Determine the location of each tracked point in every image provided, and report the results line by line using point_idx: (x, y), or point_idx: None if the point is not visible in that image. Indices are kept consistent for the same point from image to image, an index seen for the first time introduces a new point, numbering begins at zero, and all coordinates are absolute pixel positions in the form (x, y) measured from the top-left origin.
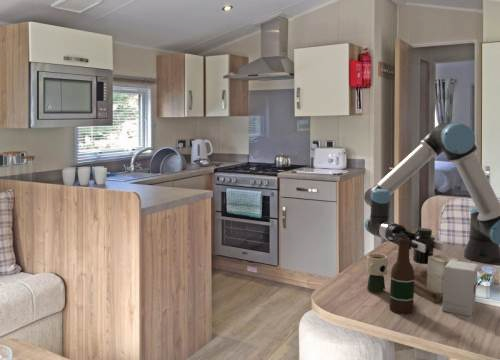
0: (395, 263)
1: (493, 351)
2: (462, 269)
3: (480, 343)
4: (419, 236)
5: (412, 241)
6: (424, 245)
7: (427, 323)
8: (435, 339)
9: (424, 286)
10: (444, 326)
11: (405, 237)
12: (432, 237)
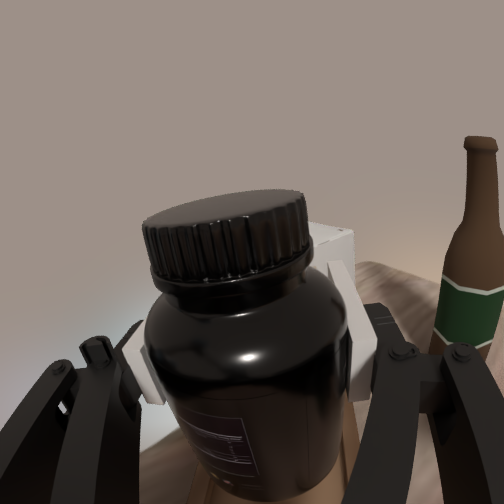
0: (502, 233)
1: (357, 264)
2: (317, 224)
3: (361, 274)
4: (307, 270)
5: (374, 339)
6: (338, 263)
7: (416, 313)
8: (422, 281)
9: None
10: (389, 305)
11: (477, 137)
12: (55, 372)
